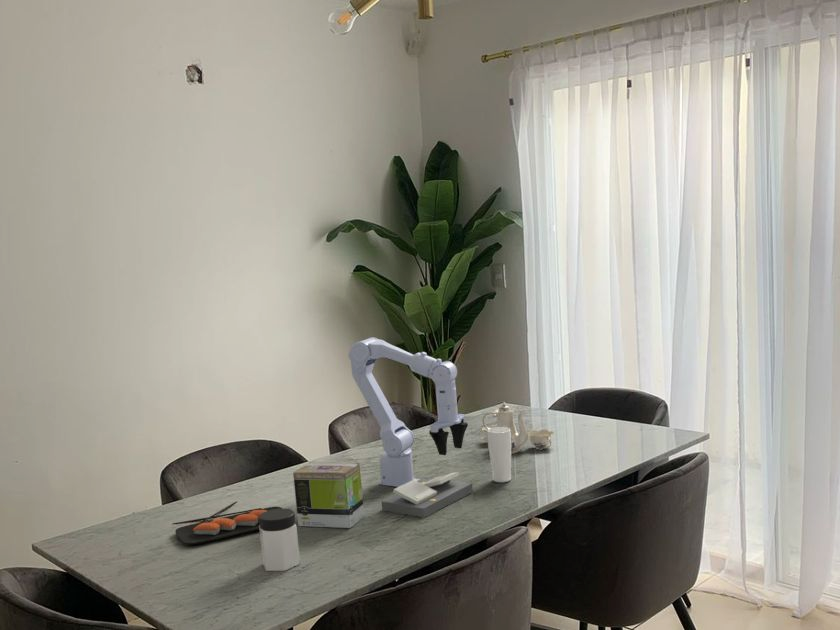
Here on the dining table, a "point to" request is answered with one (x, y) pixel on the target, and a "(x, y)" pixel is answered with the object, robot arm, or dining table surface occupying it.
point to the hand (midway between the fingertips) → (450, 451)
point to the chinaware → (517, 439)
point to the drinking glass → (500, 453)
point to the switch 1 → (415, 492)
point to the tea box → (329, 495)
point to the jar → (278, 539)
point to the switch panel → (444, 497)
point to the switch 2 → (441, 479)
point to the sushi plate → (220, 526)
